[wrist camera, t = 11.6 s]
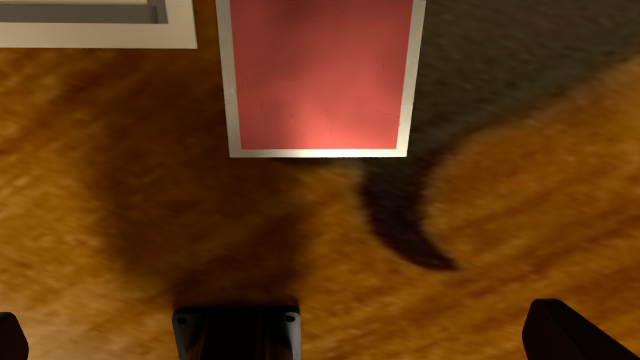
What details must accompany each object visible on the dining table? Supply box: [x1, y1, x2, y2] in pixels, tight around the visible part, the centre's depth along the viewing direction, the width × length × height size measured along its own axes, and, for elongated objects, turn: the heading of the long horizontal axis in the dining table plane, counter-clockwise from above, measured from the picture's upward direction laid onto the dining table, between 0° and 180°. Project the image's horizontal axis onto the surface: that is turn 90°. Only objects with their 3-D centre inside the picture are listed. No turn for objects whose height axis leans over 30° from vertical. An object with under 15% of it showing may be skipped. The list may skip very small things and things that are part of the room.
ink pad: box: [216, 0, 426, 157], centre depth 17 cm, size 9×7×2 cm
